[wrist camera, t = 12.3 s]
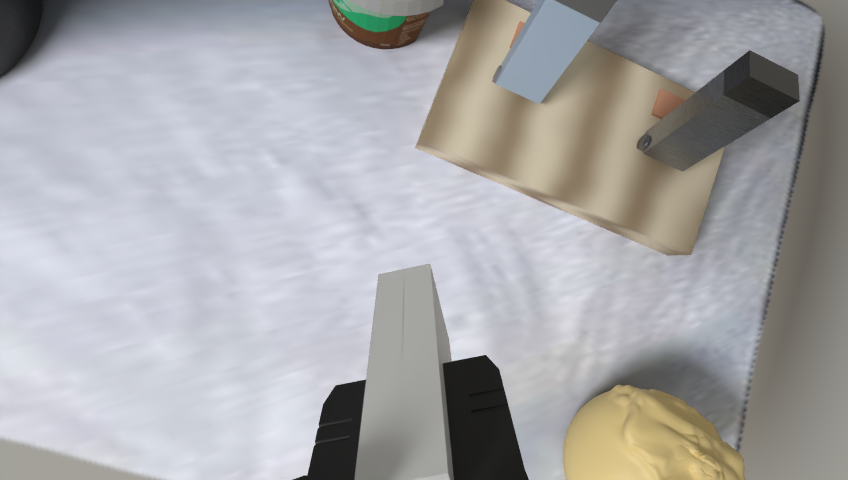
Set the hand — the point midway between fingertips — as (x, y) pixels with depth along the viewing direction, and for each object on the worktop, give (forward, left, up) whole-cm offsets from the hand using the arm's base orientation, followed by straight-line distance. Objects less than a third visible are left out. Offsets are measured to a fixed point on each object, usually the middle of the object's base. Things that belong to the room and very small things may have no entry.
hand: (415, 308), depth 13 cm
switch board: (+12, +19, -26) cm, 34 cm away
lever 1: (+5, +19, -23) cm, 30 cm away
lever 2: (+19, +19, -23) cm, 35 cm away
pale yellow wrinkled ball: (+25, -6, -26) cm, 37 cm away
